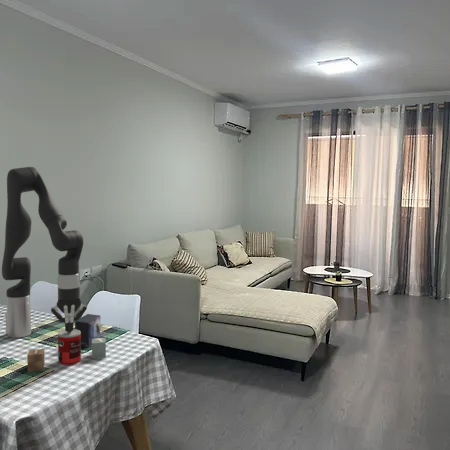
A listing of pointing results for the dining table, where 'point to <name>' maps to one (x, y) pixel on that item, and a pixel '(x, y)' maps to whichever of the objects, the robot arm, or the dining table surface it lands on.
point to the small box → (88, 328)
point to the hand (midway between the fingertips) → (69, 331)
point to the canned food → (69, 347)
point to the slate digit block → (99, 348)
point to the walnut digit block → (36, 360)
